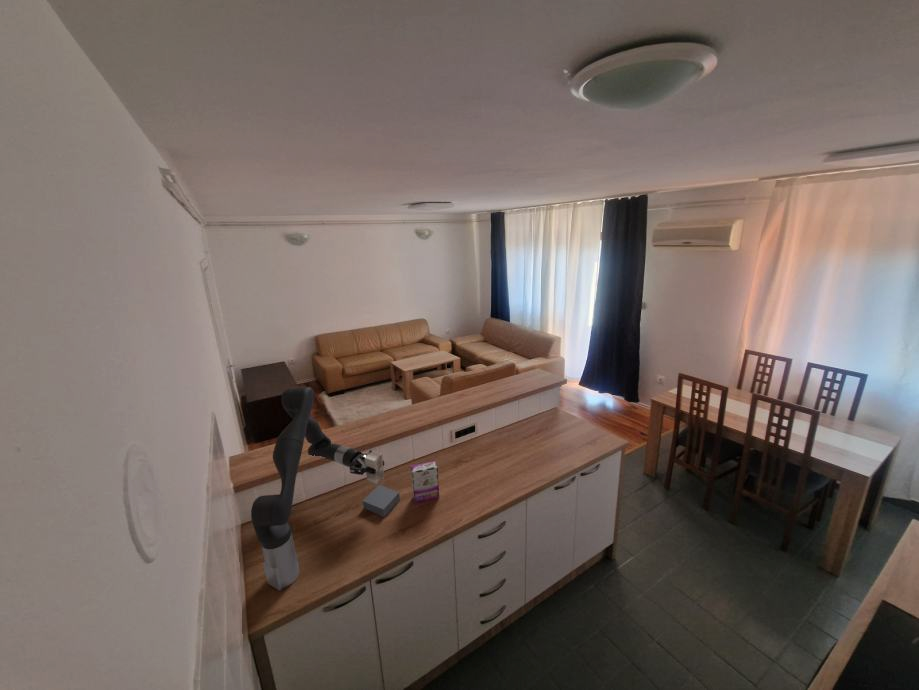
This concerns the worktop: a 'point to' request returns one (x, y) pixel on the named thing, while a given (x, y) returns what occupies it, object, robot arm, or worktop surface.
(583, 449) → the worktop surface
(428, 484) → the candy bar box
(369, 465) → the cream block
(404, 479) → the worktop surface
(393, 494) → the charcoal plinth
